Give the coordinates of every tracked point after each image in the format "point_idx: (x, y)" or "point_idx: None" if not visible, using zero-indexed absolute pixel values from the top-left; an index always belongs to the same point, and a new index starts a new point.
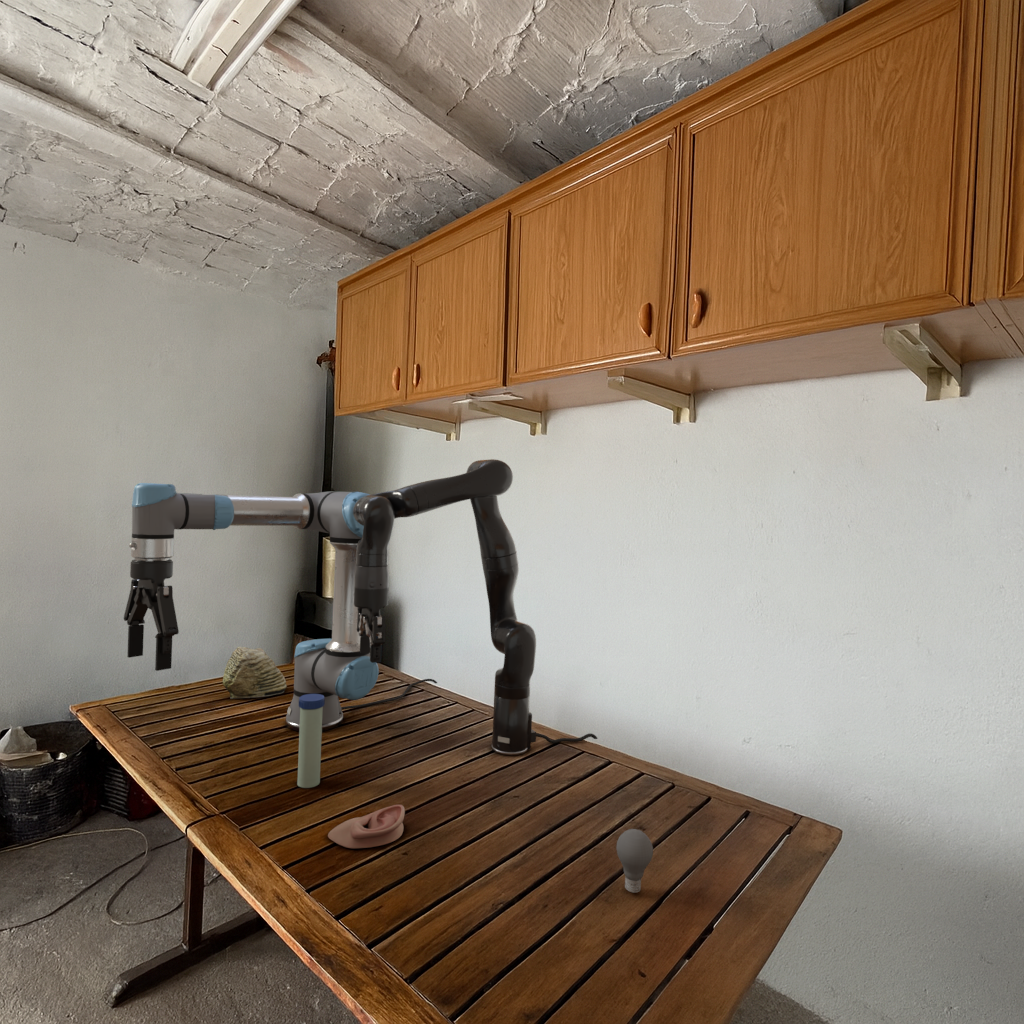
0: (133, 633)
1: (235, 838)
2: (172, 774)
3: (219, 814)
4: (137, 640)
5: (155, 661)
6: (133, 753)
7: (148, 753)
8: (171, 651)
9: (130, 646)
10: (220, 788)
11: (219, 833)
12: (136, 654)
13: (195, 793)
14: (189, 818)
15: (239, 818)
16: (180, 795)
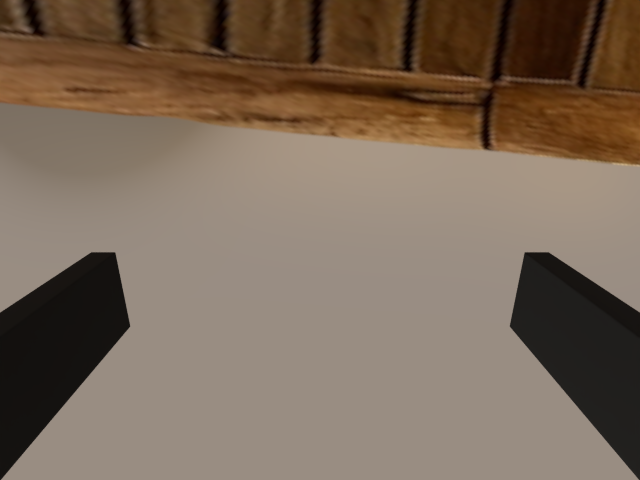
0: (10, 429)
1: (599, 110)
2: (241, 68)
3: (496, 85)
4: (50, 348)
5: (538, 359)
6: (56, 83)
7: (76, 56)
8: (631, 310)
9: (91, 366)
10: (390, 21)
11: (559, 122)
12: (116, 294)
13: (372, 76)
14: (463, 135)
15: (544, 64)
16: (358, 103)
